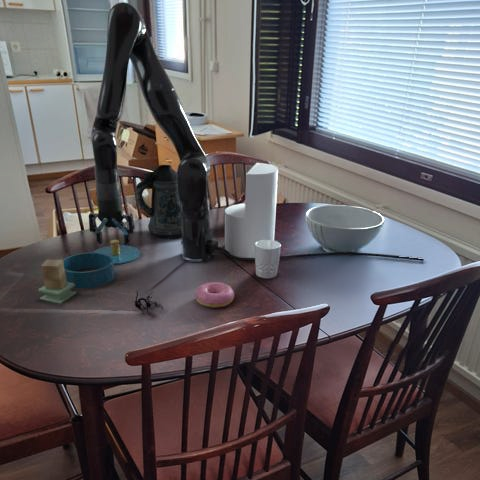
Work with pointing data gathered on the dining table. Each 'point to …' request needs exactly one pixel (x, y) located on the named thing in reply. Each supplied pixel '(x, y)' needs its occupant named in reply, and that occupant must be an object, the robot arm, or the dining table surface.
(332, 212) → the decorative bowl
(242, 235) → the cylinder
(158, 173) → the beer stein
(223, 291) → the doughnut
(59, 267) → the block
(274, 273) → the white cup
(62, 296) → the stand
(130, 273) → the dining table surface
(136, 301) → the creature
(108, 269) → the tin
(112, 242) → the tin lid
